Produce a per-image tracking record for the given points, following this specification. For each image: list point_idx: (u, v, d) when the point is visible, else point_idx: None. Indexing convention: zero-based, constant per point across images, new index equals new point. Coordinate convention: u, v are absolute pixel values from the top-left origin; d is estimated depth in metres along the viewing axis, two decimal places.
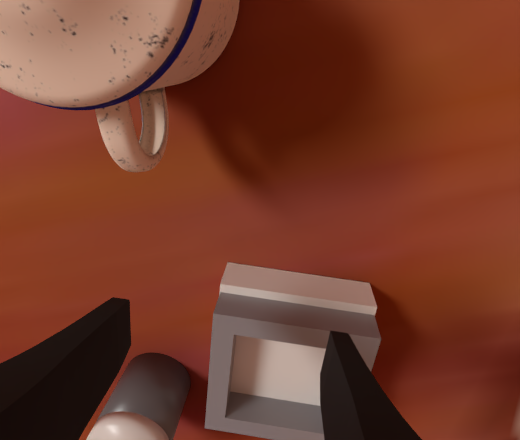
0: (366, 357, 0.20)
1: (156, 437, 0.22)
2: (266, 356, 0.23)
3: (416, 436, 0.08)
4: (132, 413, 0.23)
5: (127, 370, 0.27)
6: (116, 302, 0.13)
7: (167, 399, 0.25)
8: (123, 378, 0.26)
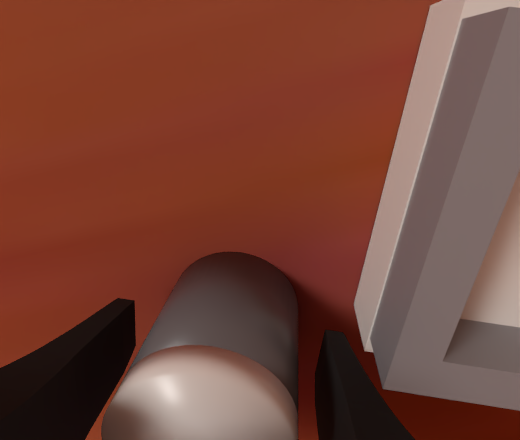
0: None
1: (282, 408, 0.09)
2: None
3: (408, 435, 0.08)
4: (217, 349, 0.09)
5: (182, 281, 0.13)
6: (121, 303, 0.13)
7: (279, 330, 0.11)
8: (177, 293, 0.12)
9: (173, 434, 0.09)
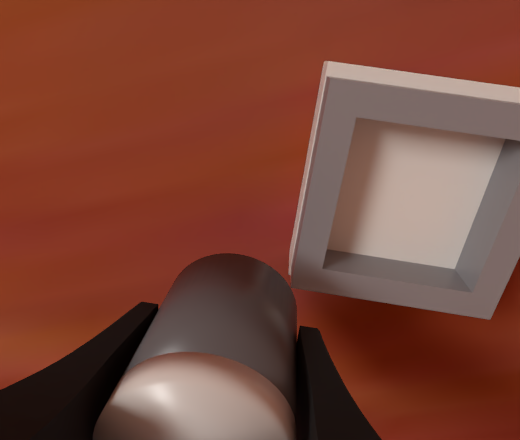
0: None
1: (280, 418, 0.09)
2: (378, 187, 0.17)
3: (370, 429, 0.08)
4: (214, 356, 0.09)
5: (178, 283, 0.13)
6: (145, 306, 0.13)
7: (278, 335, 0.11)
8: (173, 295, 0.12)
9: None
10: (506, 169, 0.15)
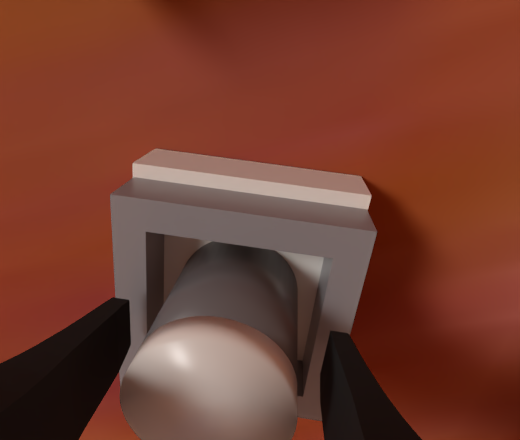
0: (353, 265, 0.13)
1: (285, 374, 0.10)
2: None
3: (416, 436, 0.08)
4: (228, 320, 0.10)
5: (192, 262, 0.14)
6: (116, 302, 0.13)
7: (282, 308, 0.12)
8: (188, 272, 0.13)
9: (186, 395, 0.10)
10: (324, 274, 0.14)
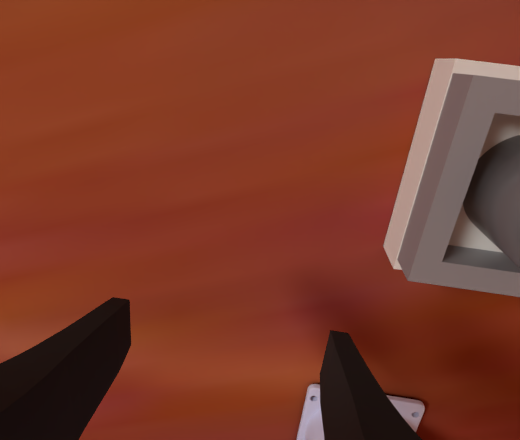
0: None
1: None
2: None
3: (416, 436, 0.08)
4: None
5: (511, 151, 0.15)
6: (116, 302, 0.13)
7: None
8: None
9: None
10: None
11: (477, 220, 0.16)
